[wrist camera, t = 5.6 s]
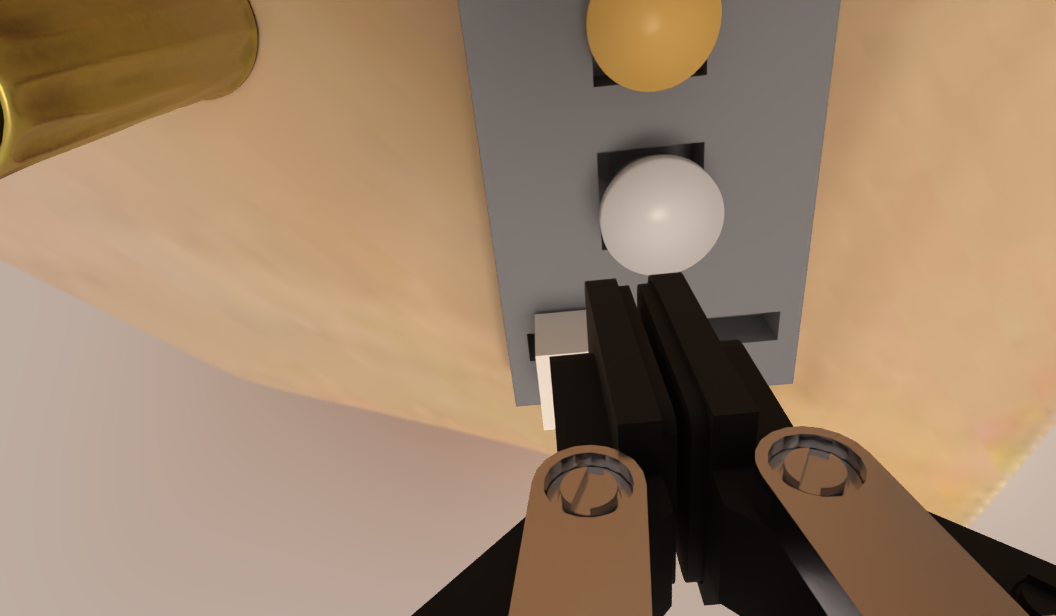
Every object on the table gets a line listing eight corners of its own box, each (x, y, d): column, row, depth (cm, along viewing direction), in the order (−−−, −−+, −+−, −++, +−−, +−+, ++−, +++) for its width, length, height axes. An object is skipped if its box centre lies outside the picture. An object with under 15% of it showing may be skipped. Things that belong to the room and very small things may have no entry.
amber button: (703, -61, 24) (725, -63, 21) (699, 71, 26) (719, 84, 24) (577, -46, 24) (583, -46, 22) (584, 83, 27) (591, 98, 24)
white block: (594, 283, 31) (607, 349, 26) (598, 351, 33) (611, 424, 28) (534, 289, 32) (535, 356, 26) (541, 355, 34) (544, 430, 28)
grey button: (706, 133, 26) (727, 153, 23) (703, 240, 28) (721, 270, 26) (591, 145, 26) (597, 167, 24) (596, 250, 29) (603, 281, 26)
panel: (814, -107, 24) (855, -116, 21) (769, 345, 35) (792, 383, 32) (458, -64, 25) (448, -67, 22) (517, 367, 35) (516, 406, 32)
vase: (191, -90, 25) (-148, -135, 12) (289, 56, 27) (91, 142, 15) (79, -9, 26) (-327, 24, 14) (183, 123, 29) (-79, 251, 16)
